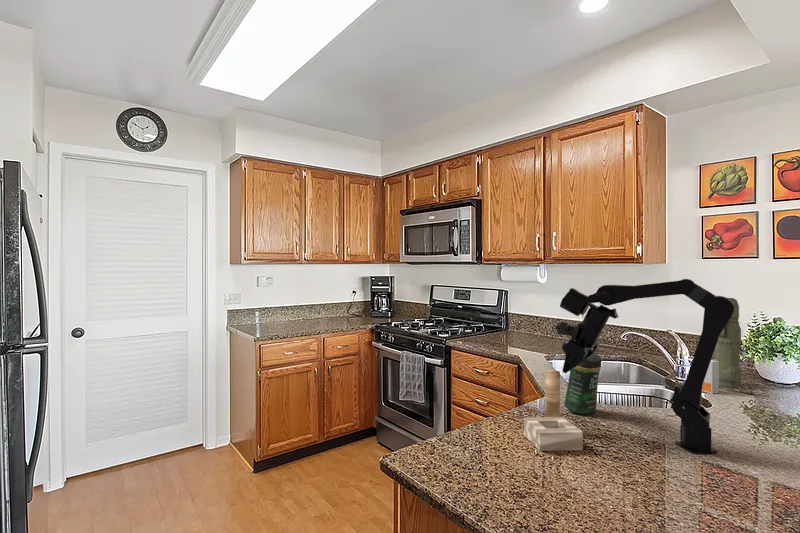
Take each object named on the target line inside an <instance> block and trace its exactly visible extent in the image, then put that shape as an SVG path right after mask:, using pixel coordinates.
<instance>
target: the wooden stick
mask: <svg viewBox="0 0 800 533" xmlns="http://www.w3.org/2000/svg"><path fill="white" fill-rule="evenodd" d="M560 398H561V372H560V371H559V370H554V369H547V370H544V417H561V415H560V414H561V413H560V412H561V409H560V408H561V407H560V405H561V400H560Z"/></svg>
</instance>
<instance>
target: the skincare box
mask: <svg viewBox="0 0 800 533" xmlns="http://www.w3.org/2000/svg"><path fill="white" fill-rule="evenodd" d="M719 387H720V386H719V361H715V359H711V362H710V364H709V367H708V370H707V373H706V376H705V379H704V382H703V385H702V392H703V391H704V392H703V393H706V392H707V394H710V393H711V395H714V394H713V393H715V394H719V393H720V392H719V391H720V388H719Z"/></svg>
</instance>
